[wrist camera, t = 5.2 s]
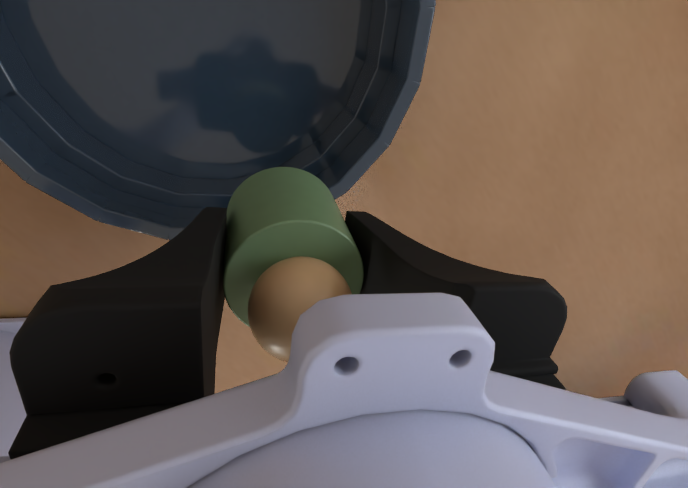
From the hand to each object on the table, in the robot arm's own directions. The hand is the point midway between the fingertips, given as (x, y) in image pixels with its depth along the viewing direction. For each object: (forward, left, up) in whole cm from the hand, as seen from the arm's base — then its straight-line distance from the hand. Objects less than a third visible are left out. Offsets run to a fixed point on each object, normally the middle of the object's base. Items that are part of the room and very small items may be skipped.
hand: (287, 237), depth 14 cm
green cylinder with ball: (0, 0, -1) cm, 1 cm away
